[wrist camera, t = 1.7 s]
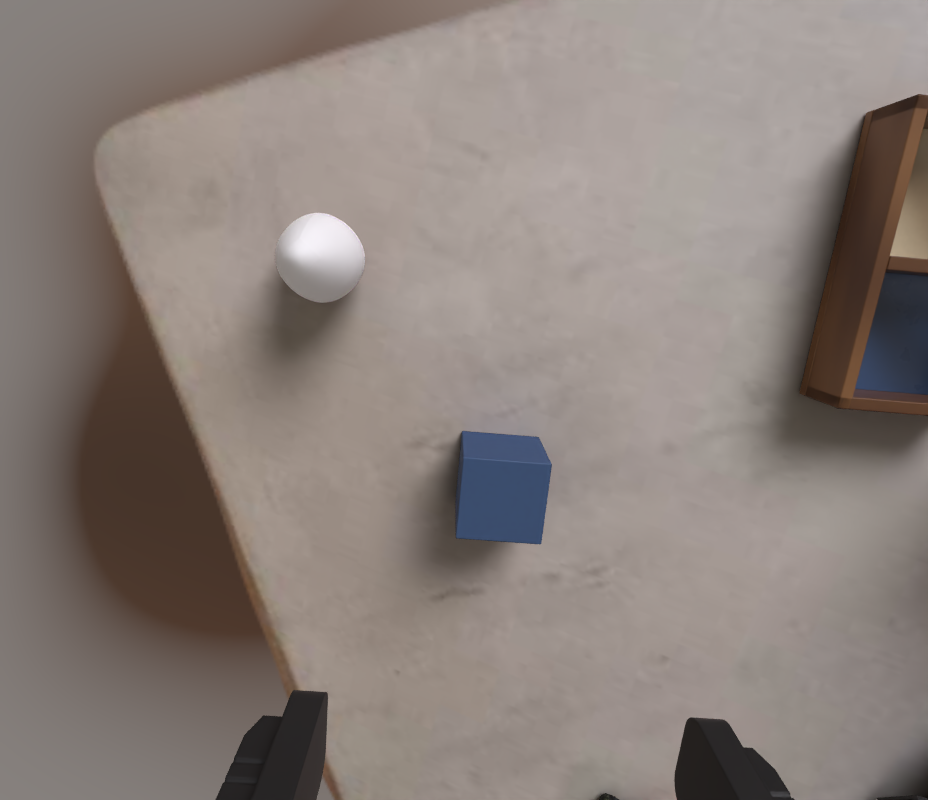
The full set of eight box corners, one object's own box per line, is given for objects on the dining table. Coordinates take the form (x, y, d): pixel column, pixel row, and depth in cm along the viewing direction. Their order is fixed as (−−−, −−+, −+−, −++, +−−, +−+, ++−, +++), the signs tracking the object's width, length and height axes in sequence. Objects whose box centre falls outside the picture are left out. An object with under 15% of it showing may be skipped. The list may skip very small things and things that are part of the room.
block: (462, 430, 29) (463, 457, 25) (538, 436, 29) (552, 464, 25) (455, 502, 30) (455, 538, 26) (530, 507, 30) (541, 544, 26)
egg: (334, 315, 27) (305, 328, 22) (273, 259, 27) (228, 259, 21) (386, 257, 27) (369, 256, 21) (325, 199, 26) (292, 183, 21)
